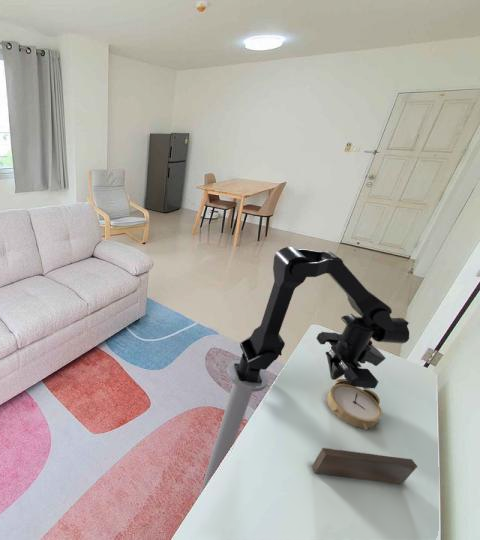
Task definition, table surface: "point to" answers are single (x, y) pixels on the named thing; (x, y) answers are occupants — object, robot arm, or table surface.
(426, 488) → the table surface
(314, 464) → the shelf back
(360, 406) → the alarm clock
